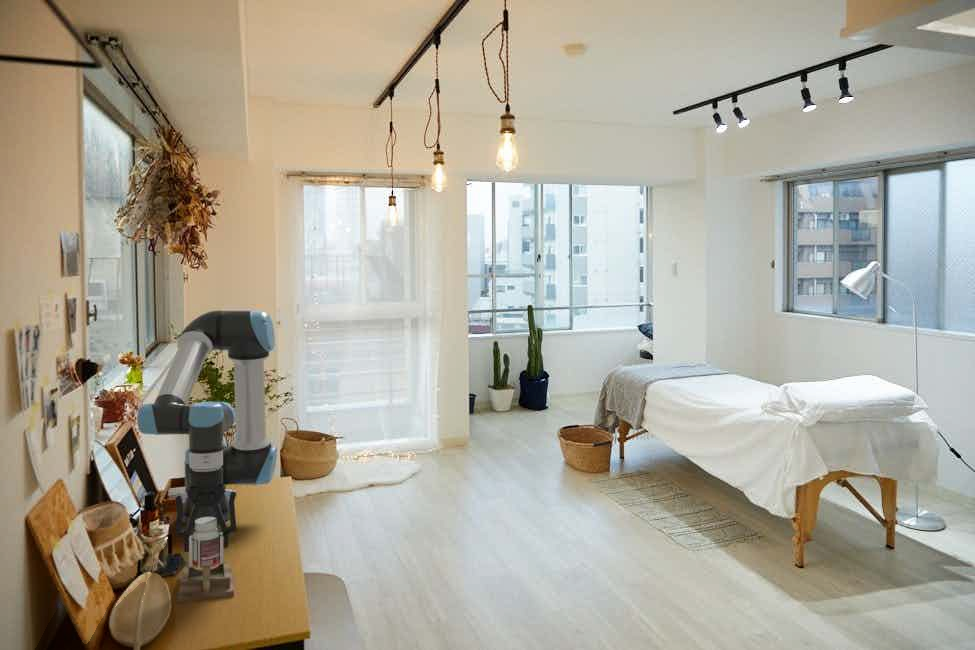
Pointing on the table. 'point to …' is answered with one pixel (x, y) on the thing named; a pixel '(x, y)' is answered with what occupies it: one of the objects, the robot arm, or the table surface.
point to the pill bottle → (206, 543)
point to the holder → (205, 583)
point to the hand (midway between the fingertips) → (206, 562)
